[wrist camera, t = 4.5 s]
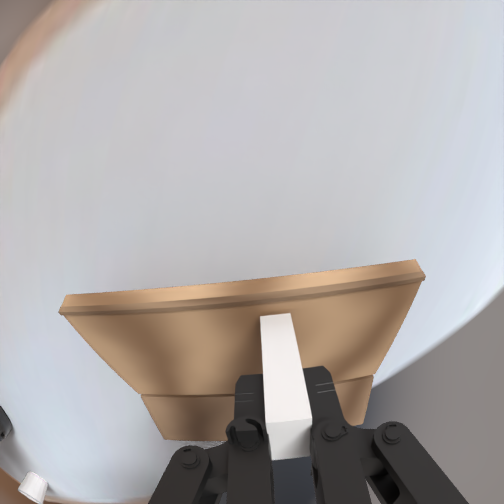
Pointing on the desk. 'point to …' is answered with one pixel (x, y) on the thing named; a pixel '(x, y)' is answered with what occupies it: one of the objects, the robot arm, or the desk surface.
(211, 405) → the laid board
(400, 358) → the desk surface
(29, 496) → the white cup
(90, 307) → the plank
